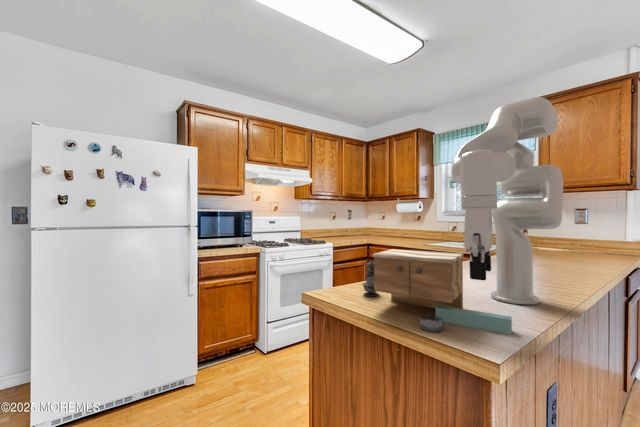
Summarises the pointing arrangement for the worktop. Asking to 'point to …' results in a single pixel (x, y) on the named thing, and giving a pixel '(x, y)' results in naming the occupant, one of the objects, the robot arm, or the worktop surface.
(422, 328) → the steel token
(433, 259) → the cabinet
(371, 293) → the grey statuette
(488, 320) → the teal blade
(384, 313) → the worktop surface
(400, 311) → the worktop surface
